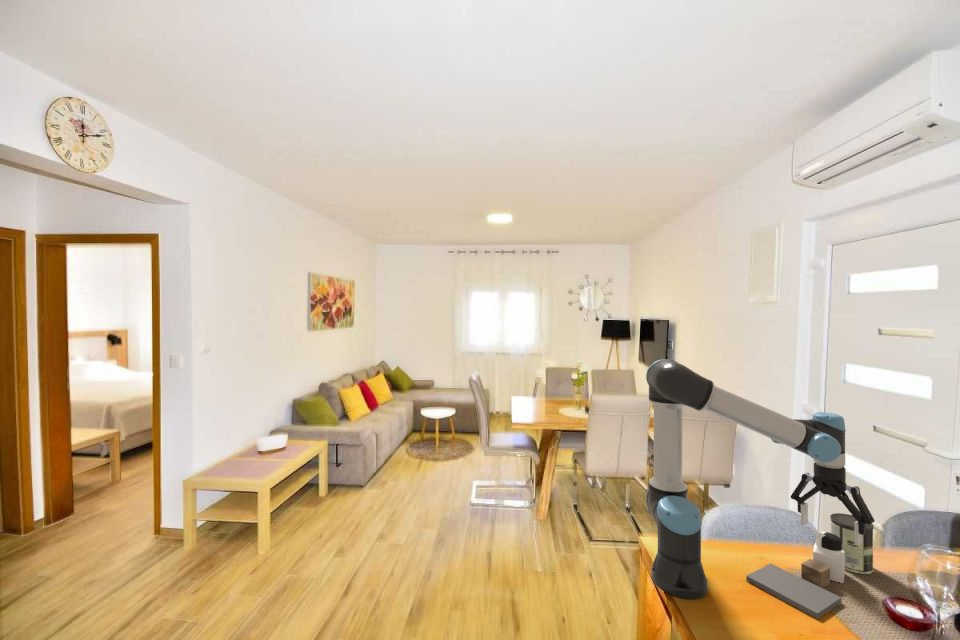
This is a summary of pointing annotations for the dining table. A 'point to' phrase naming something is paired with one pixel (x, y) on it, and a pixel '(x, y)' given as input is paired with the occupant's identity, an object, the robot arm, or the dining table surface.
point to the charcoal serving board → (794, 590)
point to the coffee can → (855, 556)
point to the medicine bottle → (830, 554)
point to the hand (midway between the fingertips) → (830, 533)
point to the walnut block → (815, 573)
